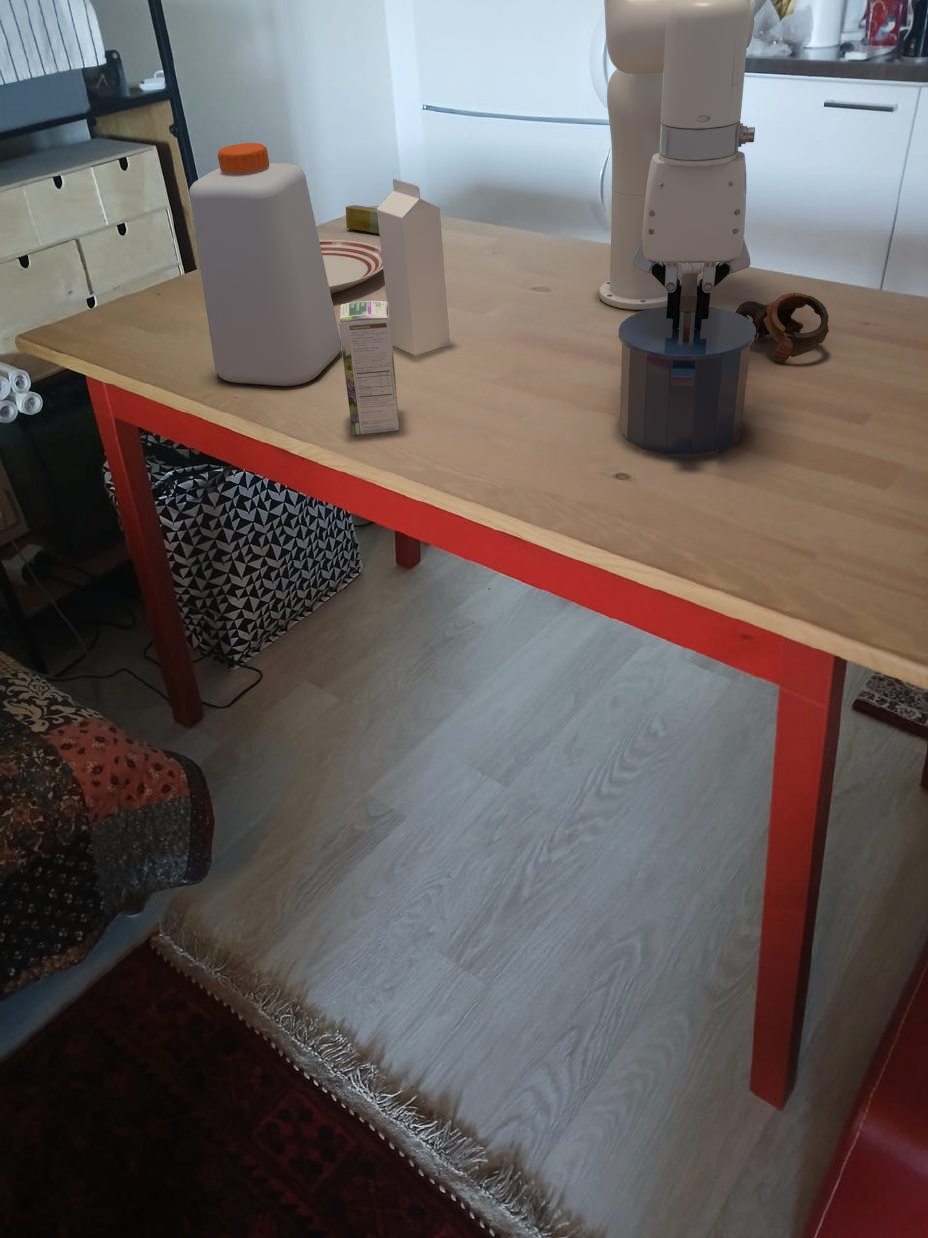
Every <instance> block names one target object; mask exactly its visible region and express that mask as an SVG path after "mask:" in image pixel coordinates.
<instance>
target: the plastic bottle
mask: <svg viewBox="0 0 928 1238" xmlns="http://www.w3.org/2000/svg"><path fill="white" fill-rule="evenodd" d="M217 160H218V165H219V168H216V169H215V170H212V171H210V172H208V173H207V174H205V175H203V176H201V177H200V178H199V179H197V180H195V181H194V182H193V183H192V184H191V186H190V187H189V202H190V208H191V214H192V215H191V216H192V221H193V222H192V223H193V229H194V235H195V243H196V248H197V256H198V263H199V269H200V277H201V283H202V290H203V296H204V303H205V310H206V317H207V324H208V330H209V338H210V345H211V351H212V357H213V364H214V370H215V372H216V374H217V375H218V376H219V377H220V378H221V379H223V380H224V381H226V382H229V383H234V384H235V383H236V384H247V385H248V384H249V385H262V386H263V385H265V386H276V387H277V386H278V387H293V386H294V387H295V386H299V385H303V384H306V383H308V382H310V381H313V380H314V379H315V378H317V377H318V376H319V375H320V374H321V373H322V372H323V371H324V370H325V369H326V368H327V367H328V366H329V364H331V362H333V361H334V359H335V358H336V357H338V355H339V354H340V352H341V351H342V345H341V336H340V330H339V325H338V322H337V317H336V312H335V309H334V304H333V299H332V298H333V297H332V294H331V293H330V289H329V284H328V279H327V275H326V270H325V265H324V260H323V256H322V251H321V246H320V242H319V240H320V238H319V233H318V228H317V223H316V218H315V214H314V210H313V204H312V201H311V196H310V191H309V186H308V181H307V178H306V174H305V171H304V169H302V168H301V167H300V166H299V165H297V164H293V163H282V162H270V159H269V154H268V148H267V147H266V146H265V145H264V144H262V143H257V142H242V143H235V144H229V145H227V146H224V147H222V148H220V149H219V150H218V152H217Z"/></svg>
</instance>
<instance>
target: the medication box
mask: <svg viewBox="0 0 928 1238" xmlns="http://www.w3.org/2000/svg"><path fill="white" fill-rule="evenodd" d="M377 208H378V207H373V206H372V207H371V206H364V205H356V204H352V205H348V206H345V223H346V224H345V225H346V229H349V230H355V231H360V232H367V233H368V232H369V233H371V234H372V233H373V234H379V225H378V216H377Z"/></svg>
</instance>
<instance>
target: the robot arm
mask: <svg viewBox="0 0 928 1238" xmlns="http://www.w3.org/2000/svg"><path fill="white" fill-rule="evenodd" d="M603 6H604V29H605V41H606V48H607V53H608V57H609V59H610V61H611V63H612V65H613V66H614V67H615V68H616V69H615V70H614V71H613V72H612V75H611V76H610V78H609V80H608V83H607V88H606V104H607V105H606V107H607V114H608V120H609V121H608V122H609V130H610V131H609V132H610V142H611V214H610V215H611V216H610V217H611V219H610V220H611V221H610V261H609V264H610V269H609V280H607V281H605V282H603V283H602V284H601V286H600V287H599V291H598V292H599V294H598V296H599V299H600V300H601V301H602V302H603V303H605V304H606V305H609V306H611V307H613V308H614V307H615V308H618V309H624V310H633V311H634V310H636V311H637V310H638V311H645V310H649V309H653V308H659V307H666V306H667V315H666V319H673V324H672V329H677V328H679V321H680V296H681V284H682V274H698V275H700V274H702V278H701V279H700V280H698V288H697V305H696V312H695V324H694V328H696V330H701V322H702V319H708V317H709V307H710V302H711V293H712V292H713V290H714V288H715V287H716V286H717V285H719V284H720V283H721V282H722V281H723V280H725V278H727V277H728V276H729V275H731V274H734V273H737V272H740V271H742V270H745V269H748V268H749V267H750V266H751V255H750V253H749V250H748V247H747V243H746V240H745V226H746V210H747V163H746V155H745V153H744V152H743V151H740V150H739V148H742V145H746V144H747V143H754V142H755V136H756V135H755V133H756V127H755V126H749V127H748V125H744V123H743V122H741V120H742V119H741V118H742V108H743V97H744V96H743V95H744V84H745V74H746V73H745V72H746V64H747V63H746V62H747V50H748V48H749V47H750V44H751V42H752V39H753V32H754V28H755V5H754V1H753V0H603Z"/></svg>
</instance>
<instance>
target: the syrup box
mask: <svg viewBox="0 0 928 1238" xmlns="http://www.w3.org/2000/svg"><path fill="white" fill-rule="evenodd" d="M338 330H339V335H340V340H341V352H342V361H343V369H344V377H345V385H346V393H347V402H348V409H349V416H350V417H349V418H350V425H351V426H350V427H351V433H352V434H351V435H353V436H354V435H365V434H366V435H367V434H375V433H385V432H394V431H399V430H400V415H399V402H398V401H399V400H398V392H397V381H396V380H397V379H396V370H395V359H394V348H393V347H394V346H392V337H391V327H390V317H389V308H388V302H387V300H361V301H359V300H358V301H353V302H348V303H342V304H340V305H339V321H338Z"/></svg>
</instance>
